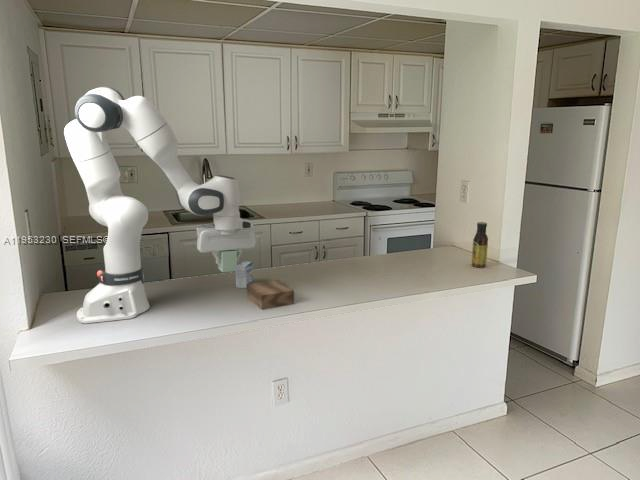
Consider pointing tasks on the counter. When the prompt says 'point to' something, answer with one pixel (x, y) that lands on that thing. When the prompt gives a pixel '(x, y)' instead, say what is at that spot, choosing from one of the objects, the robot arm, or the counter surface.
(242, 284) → the medicine box
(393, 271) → the counter surface
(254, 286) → the walnut block
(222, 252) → the sage block
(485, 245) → the sauce bottle
